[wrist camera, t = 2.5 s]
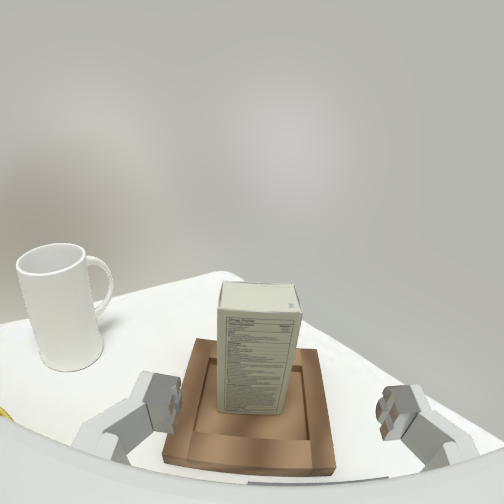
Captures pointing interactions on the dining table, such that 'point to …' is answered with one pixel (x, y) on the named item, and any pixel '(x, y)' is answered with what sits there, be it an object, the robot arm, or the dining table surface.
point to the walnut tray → (252, 424)
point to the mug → (62, 304)
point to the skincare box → (255, 345)
